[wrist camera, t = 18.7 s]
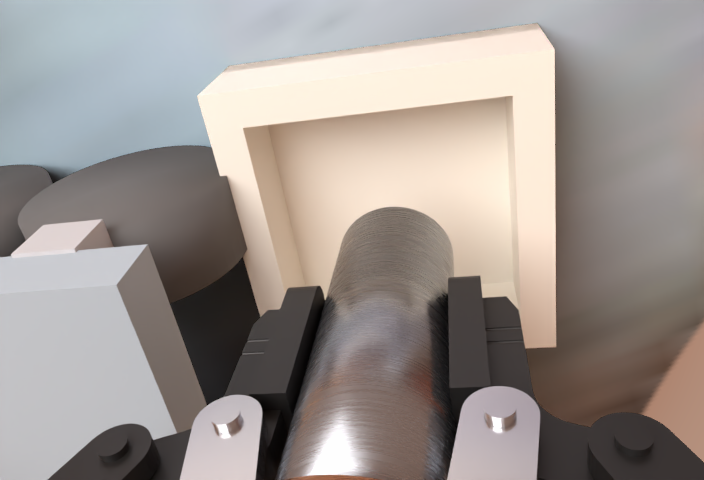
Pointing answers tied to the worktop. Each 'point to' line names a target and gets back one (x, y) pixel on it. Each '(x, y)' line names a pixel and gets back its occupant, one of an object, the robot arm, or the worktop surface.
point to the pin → (379, 359)
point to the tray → (397, 159)
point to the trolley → (104, 298)
